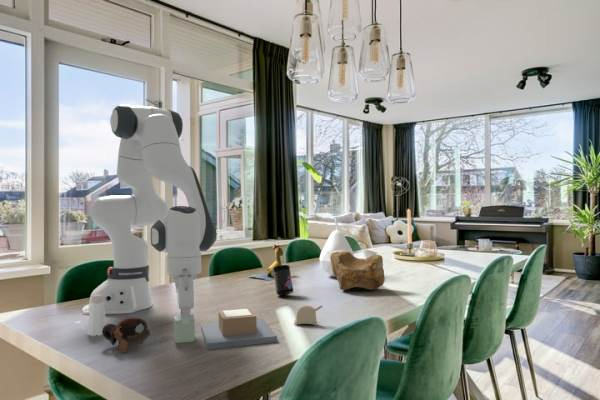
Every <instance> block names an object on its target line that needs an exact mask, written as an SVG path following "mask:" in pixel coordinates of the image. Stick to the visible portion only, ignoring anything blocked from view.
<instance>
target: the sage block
mask: <svg viewBox="0 0 600 400" xmlns="http://www.w3.org/2000/svg"><path fill="white" fill-rule="evenodd" d="M173 317H174V318H173V319H174V321H173V322H174V323H173V327H174V334H173V335H174V344H179V343H180V344H181V343H190V342H195V341H196V336H195V334H196V333H195V331H196V330H195V329H196V328H195V325H196V324H195V322H196V321H195V320H196V319H195V315H194V314H191V313H190V323H189V324H183V323H182V315H181V314H180V315H174V316H173Z"/></svg>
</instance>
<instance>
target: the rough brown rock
mask: <svg viewBox="0 0 600 400" xmlns="http://www.w3.org/2000/svg"><path fill="white" fill-rule="evenodd" d="M330 259H331V266H332V270H333V274H334V275H335V276H336V280H337V282H338V285H339V289H340V290H350V289H352V288H364V289H366V290H370V291H372V290H373V291H374V290H376V289H377V290H378V289H379V288H381V287H382V286H384V283H385V269H384V263H383V262H384V261H383V260H384V258H383V256H382V255H381V254H373V255H371V256H369V257H366V259H365V258H358V257H355V255H354V256H353V255H352V254H351V253H350V252H347V251H344V252H334V253H332V254H331V257H330Z"/></svg>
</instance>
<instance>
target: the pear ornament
mask: <svg viewBox="0 0 600 400" xmlns="http://www.w3.org/2000/svg"><path fill="white" fill-rule="evenodd" d="M334 223H335V230H333V231H331V233H330V234H329V236H328V238H327V240H326V241H325V244H324V246H323V248H322V250H321V251H320V255H319V258H318V259H319V263H320V266H321V269H322V271H324V272H325V273H326V274H328V275H330V276H331V277H336V276H335V275H334V274H333V270H332V266H331V259H330V257H331V254H332V253H334V252H344V251H347V252H350V253H351V254H352V255H353V256H354V257H355V255H354V252H353V251H354V250H353V249H352V247H351V245H350V243H349V242H348V240H347V238H346V236H345V234H344V233H343V232H342V231H341V230H343V231H345V232H347V231H348V228H347V226H343V225H340V224H338V221H337V219H336V218H335V219H334ZM339 229H341V230H339ZM336 278H337V277H336Z"/></svg>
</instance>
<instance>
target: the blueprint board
mask: <svg viewBox="0 0 600 400" xmlns="http://www.w3.org/2000/svg"><path fill="white" fill-rule="evenodd" d="M200 330H201V333H202V337H203V341H204V343H205V347H206V350H214V349H215V350H216V349H225V348H233V347H242V346H250V345H252V346H253V345H261V344H270V343H277V342H278V335H277V334H276V333H275V332H274V331H273V330H272V328H271V327H270V326H269V325H268V324H267V322H266V321H265V320H264V318H262V317H261V318H257V315H256V313H255V312H254V311H253V310H252V308H250V307H248V308H247V307H246V308H239V309H238V308H236V309H226V310H223V309H222V310H218V321H217V322H210V323H208V322H207V323H201V324H200Z"/></svg>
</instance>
